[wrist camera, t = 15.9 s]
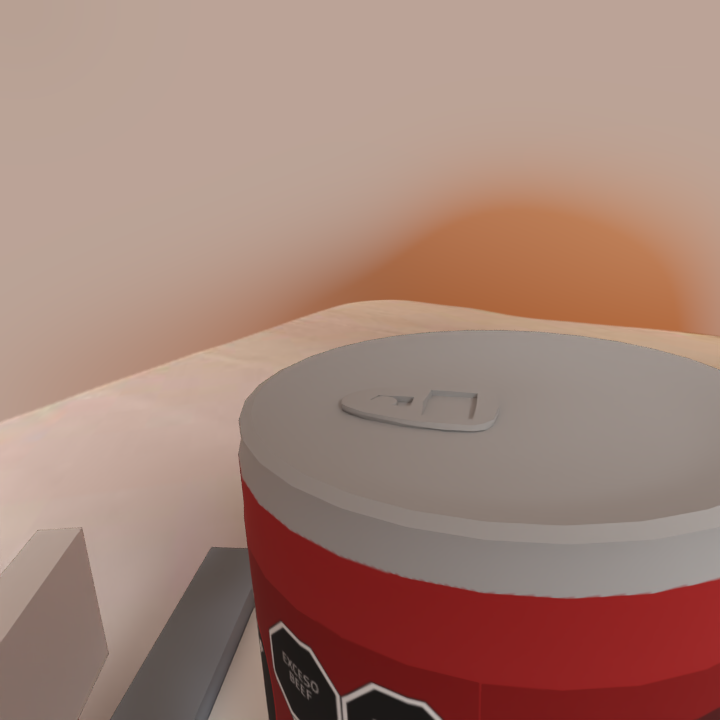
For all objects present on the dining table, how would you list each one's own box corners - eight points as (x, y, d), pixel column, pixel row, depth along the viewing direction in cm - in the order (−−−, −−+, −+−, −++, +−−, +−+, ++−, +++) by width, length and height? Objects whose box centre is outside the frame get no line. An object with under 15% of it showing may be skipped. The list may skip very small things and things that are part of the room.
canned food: (303, 730, 16) (267, 336, 13) (599, 714, 16) (639, 319, 13) (268, 1200, 9) (160, 562, 5) (809, 1167, 9) (1036, 518, 5)
